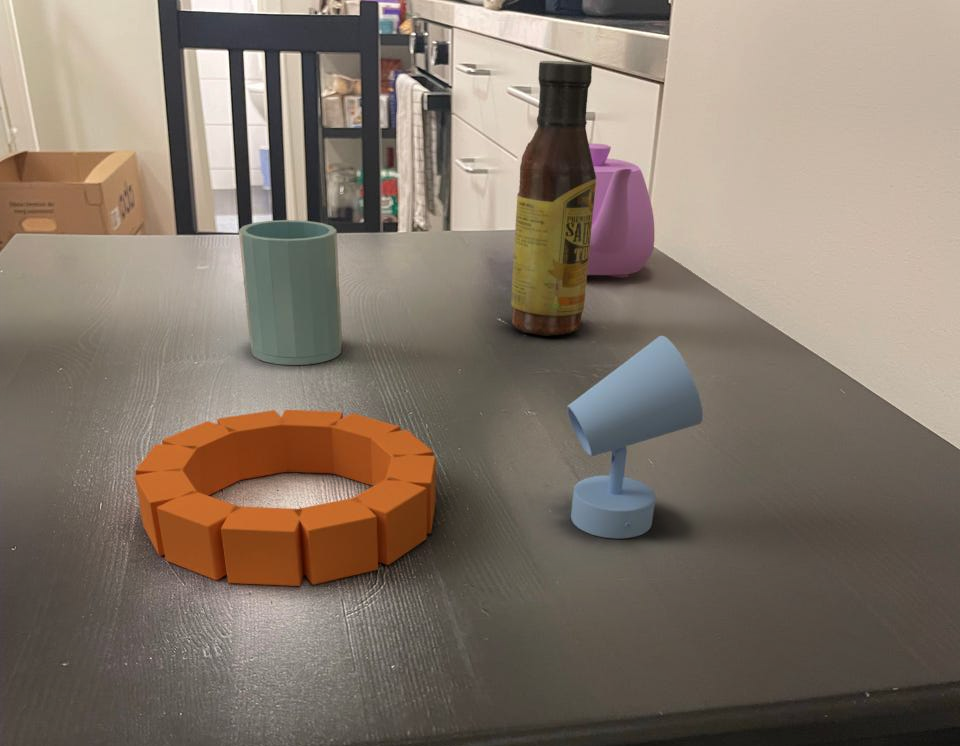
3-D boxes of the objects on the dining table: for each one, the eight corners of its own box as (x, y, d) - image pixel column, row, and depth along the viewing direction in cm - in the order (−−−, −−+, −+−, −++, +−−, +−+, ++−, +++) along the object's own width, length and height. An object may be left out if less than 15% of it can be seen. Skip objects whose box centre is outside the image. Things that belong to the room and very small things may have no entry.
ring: (105, 578, 47) (93, 522, 45) (192, 451, 60) (185, 404, 58) (422, 591, 47) (422, 536, 45) (441, 462, 59) (442, 415, 58)
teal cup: (242, 363, 73) (229, 237, 68) (262, 335, 79) (251, 218, 74) (334, 367, 73) (327, 241, 68) (347, 339, 79) (342, 222, 74)
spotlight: (658, 494, 57) (546, 504, 55) (684, 322, 51) (560, 327, 49) (694, 533, 53) (574, 544, 51) (726, 351, 47) (593, 357, 46)
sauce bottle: (570, 343, 80) (594, 66, 69) (499, 333, 82) (511, 61, 71) (590, 323, 85) (615, 61, 74) (523, 313, 87) (538, 57, 76)
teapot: (507, 249, 108) (512, 131, 101) (621, 249, 110) (633, 133, 104) (548, 297, 92) (557, 161, 85) (681, 296, 94) (700, 162, 87)
